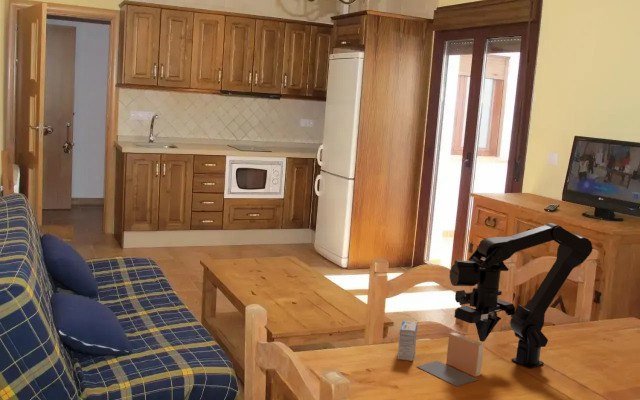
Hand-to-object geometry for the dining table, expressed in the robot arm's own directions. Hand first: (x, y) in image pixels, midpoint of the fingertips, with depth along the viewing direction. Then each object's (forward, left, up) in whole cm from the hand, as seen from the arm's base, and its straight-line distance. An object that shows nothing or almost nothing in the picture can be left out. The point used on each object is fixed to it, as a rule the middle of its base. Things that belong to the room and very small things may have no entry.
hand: (482, 341), depth 187 cm
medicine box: (+14, -14, -7) cm, 21 cm away
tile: (+7, 0, -7) cm, 10 cm away
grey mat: (+13, 0, -7) cm, 15 cm away
